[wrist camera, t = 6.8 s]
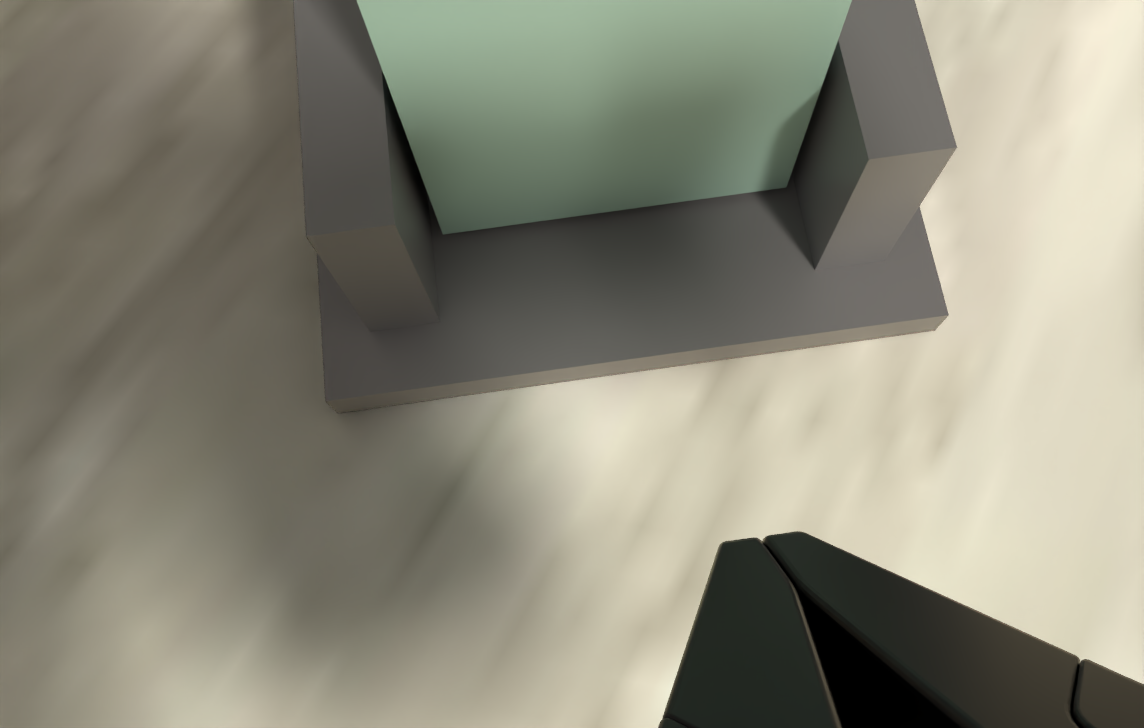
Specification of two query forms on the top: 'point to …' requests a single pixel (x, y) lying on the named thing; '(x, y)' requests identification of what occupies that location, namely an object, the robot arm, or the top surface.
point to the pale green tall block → (599, 99)
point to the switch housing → (616, 238)
